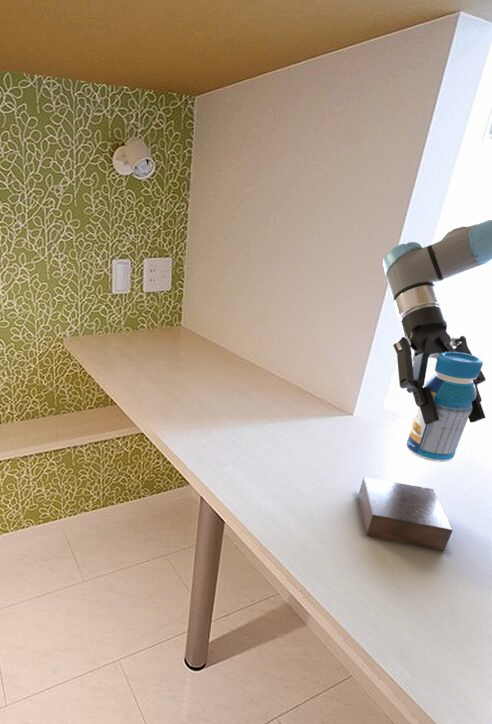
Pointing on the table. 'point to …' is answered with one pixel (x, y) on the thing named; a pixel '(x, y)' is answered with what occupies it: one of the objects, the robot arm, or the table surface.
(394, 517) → the riser
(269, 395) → the table surface
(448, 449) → the beverage bottle
